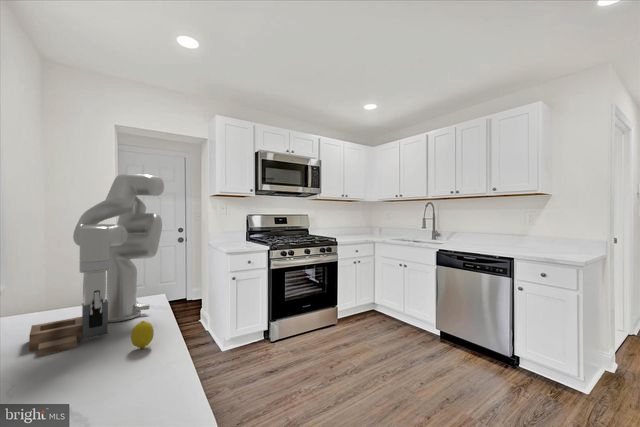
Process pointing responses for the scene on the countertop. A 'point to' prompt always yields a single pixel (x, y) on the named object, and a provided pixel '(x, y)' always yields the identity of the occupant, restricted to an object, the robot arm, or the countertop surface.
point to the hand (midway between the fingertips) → (95, 324)
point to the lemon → (142, 334)
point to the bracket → (94, 331)
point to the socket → (55, 336)
